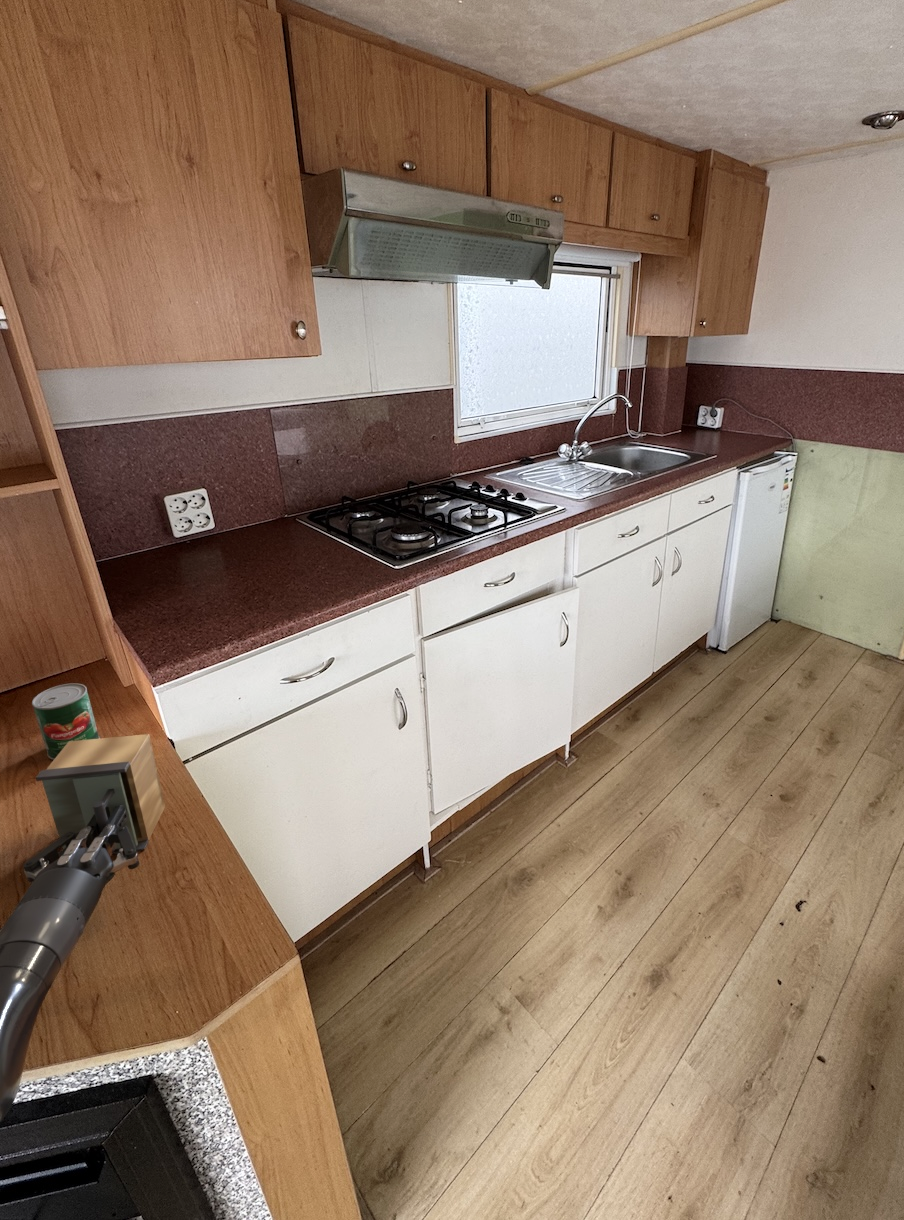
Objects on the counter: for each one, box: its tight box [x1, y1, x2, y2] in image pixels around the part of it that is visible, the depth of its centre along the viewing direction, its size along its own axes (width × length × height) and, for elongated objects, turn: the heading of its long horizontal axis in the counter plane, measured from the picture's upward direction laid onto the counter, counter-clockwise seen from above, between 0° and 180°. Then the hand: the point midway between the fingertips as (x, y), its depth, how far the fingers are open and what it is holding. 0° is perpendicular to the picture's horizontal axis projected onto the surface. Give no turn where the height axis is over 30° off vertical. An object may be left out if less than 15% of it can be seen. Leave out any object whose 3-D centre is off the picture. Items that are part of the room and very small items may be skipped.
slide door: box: [73, 773, 138, 852], centre depth 80 cm, size 6×5×13 cm
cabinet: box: [35, 733, 166, 855], centre depth 85 cm, size 11×9×15 cm
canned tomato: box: [31, 682, 101, 760], centre depth 104 cm, size 8×8×11 cm
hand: (113, 811), depth 81 cm, fingers closed
